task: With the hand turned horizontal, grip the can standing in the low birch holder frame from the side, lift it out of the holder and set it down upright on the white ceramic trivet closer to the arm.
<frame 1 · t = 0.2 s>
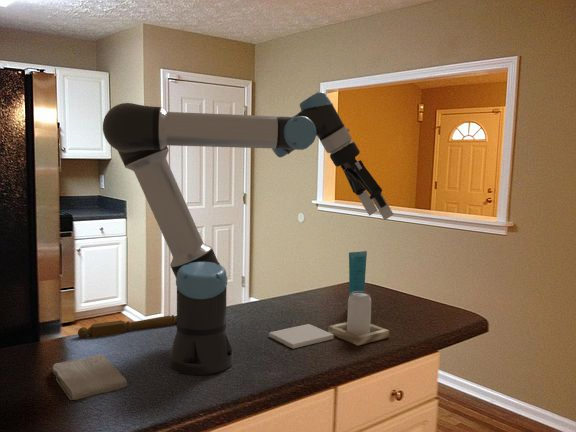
hand: (380, 215, 140), 35 cm above the countertop, tool tilted 35°, fingers open, 13 cm apart
holder: (358, 335, 147), on the countertop
washcloth: (88, 382, 114), on the countertop
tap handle: (134, 331, 148), on the countertop
can: (358, 335, 147), resting in holder
tube: (355, 308, 174), on the countertop
trivet: (301, 337, 144), on the countertop
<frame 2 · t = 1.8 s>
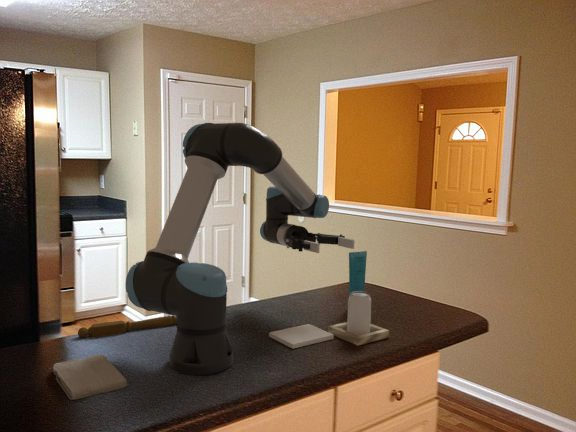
hand: (336, 246, 153), 24 cm above the countertop, tool horizontal, fingers open, 13 cm apart
nothing on the countertop moved.
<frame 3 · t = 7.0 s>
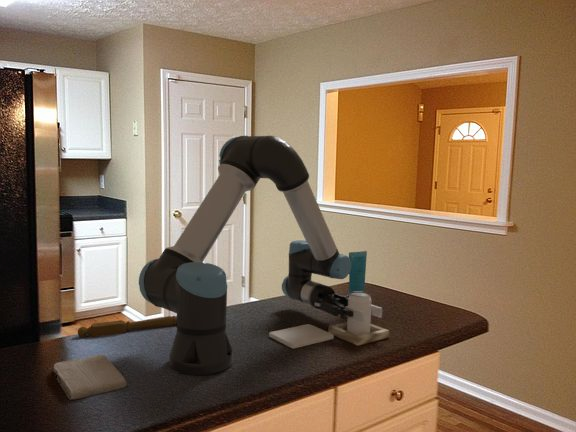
hand: (372, 314, 142), 7 cm above the countertop, tool horizontal, fingers closed on can, 6 cm apart
can: (358, 335, 147), resting in holder, touching gripper
everything else where it was.
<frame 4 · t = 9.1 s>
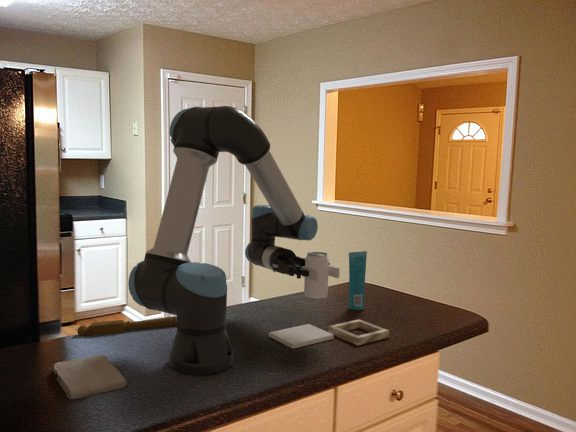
hand: (328, 274, 138), 19 cm above the countertop, tool horizontal, fingers closed on can, 6 cm apart
can: (315, 297, 143), point 11 cm above the countertop, touching gripper
when the fingers open (10 cm above the countertop, at t = 11.5 s): can drops 1 cm, resting on trivet.
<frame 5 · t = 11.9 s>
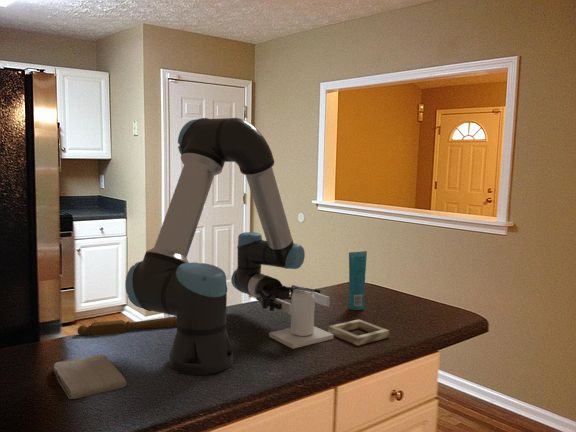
hand: (310, 305, 140), 10 cm above the countertop, tool horizontal, fingers open, 12 cm apart
can: (302, 333, 144), point 1 cm above the countertop, touching trivet
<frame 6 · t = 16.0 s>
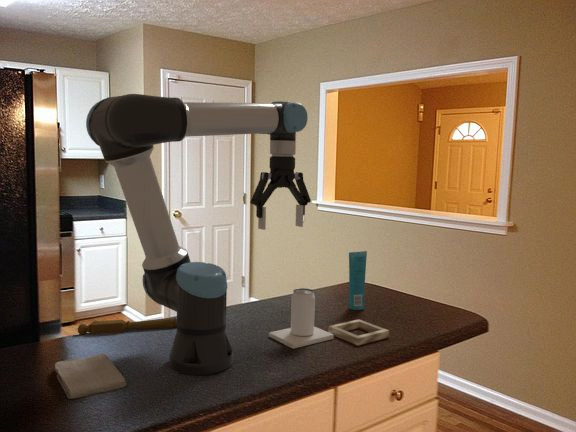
hand: (281, 227, 154), 29 cm above the countertop, tool pointing down, fingers open, 13 cm apart
at the end: can inside the target area on the trivet (0.3 cm from its centre), point 1.0 cm above the trivet's base; can tilted 0°; the gripper is holding nothing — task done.
